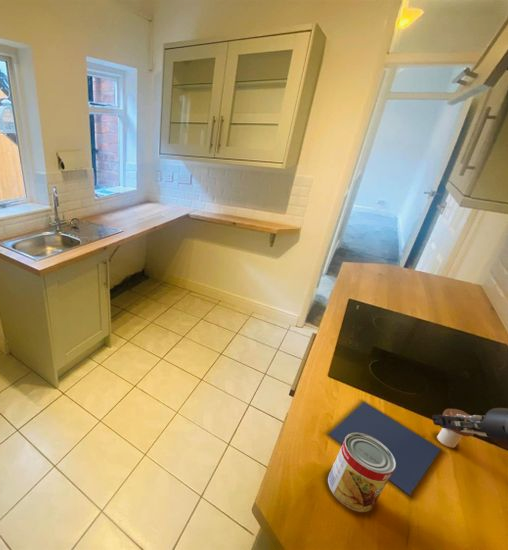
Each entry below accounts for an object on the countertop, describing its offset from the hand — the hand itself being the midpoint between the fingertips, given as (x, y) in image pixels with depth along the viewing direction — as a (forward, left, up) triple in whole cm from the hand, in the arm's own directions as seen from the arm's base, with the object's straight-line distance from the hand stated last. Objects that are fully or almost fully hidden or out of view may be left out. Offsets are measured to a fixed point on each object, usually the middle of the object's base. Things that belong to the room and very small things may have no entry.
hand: (448, 421), depth 71 cm
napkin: (+14, -7, -5) cm, 16 cm away
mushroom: (+1, +1, -5) cm, 5 cm away
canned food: (+32, -6, -5) cm, 33 cm away
